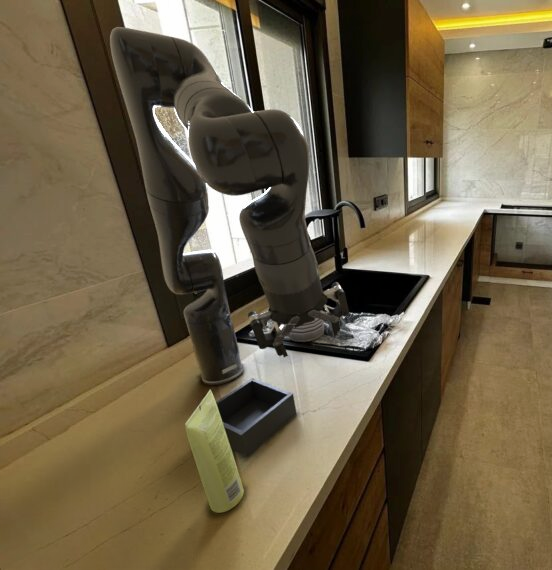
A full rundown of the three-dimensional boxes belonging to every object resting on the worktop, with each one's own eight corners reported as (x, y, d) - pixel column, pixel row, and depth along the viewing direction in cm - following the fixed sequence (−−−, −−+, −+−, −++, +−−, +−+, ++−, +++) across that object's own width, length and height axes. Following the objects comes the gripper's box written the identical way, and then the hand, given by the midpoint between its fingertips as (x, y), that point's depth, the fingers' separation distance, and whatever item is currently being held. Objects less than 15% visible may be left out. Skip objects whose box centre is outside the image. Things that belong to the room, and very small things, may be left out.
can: (332, 329, 109) (328, 296, 105) (307, 345, 99) (302, 309, 95) (306, 322, 113) (301, 290, 109) (280, 337, 104) (274, 302, 99)
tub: (204, 436, 67) (197, 413, 65) (256, 398, 78) (252, 377, 75) (247, 458, 62) (240, 435, 60) (296, 414, 73) (293, 393, 70)
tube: (204, 498, 55) (172, 405, 48) (236, 477, 58) (210, 388, 51) (217, 521, 51) (184, 424, 44) (250, 497, 55) (224, 404, 48)
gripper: (329, 243, 49) (340, 312, 61) (226, 273, 43) (260, 343, 55) (349, 272, 45) (357, 341, 57) (238, 310, 39) (272, 378, 51)
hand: (309, 342), depth 56 cm, fingers open, 8 cm apart
